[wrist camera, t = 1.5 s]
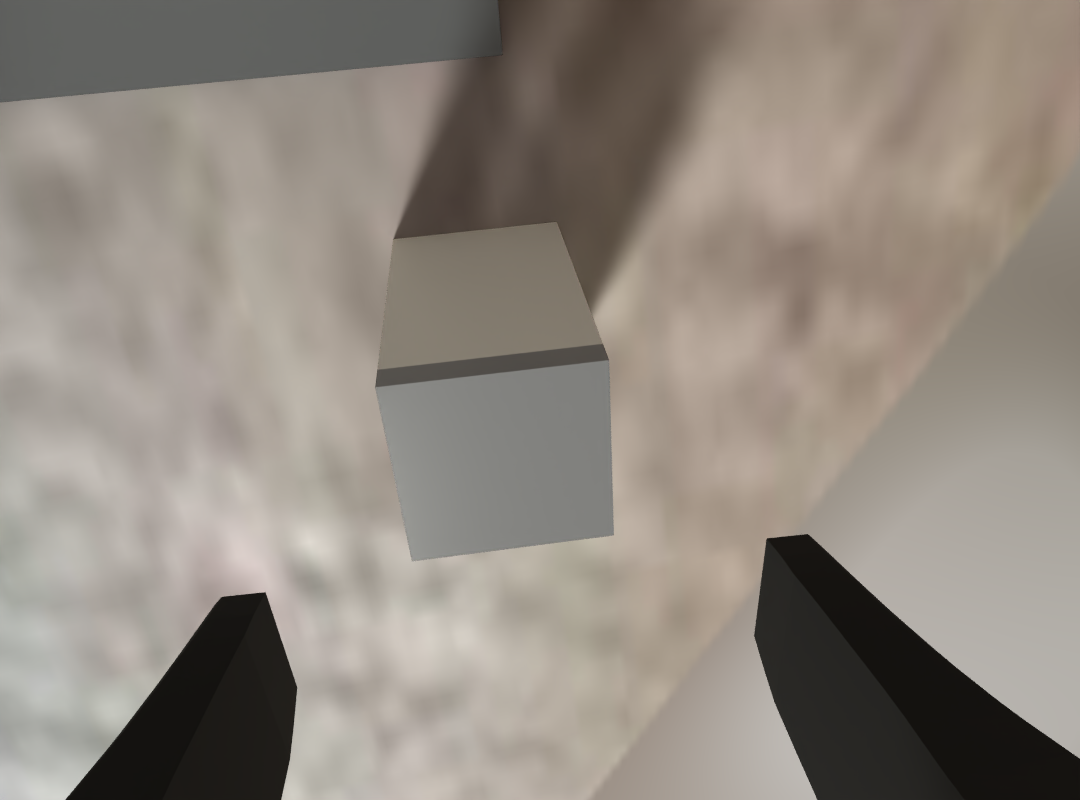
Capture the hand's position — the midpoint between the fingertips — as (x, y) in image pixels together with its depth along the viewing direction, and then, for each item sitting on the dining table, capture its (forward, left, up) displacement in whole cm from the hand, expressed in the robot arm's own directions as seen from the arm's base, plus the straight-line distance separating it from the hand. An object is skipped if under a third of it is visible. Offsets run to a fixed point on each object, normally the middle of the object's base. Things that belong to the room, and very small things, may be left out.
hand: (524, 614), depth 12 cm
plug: (0, 0, -11) cm, 11 cm away
